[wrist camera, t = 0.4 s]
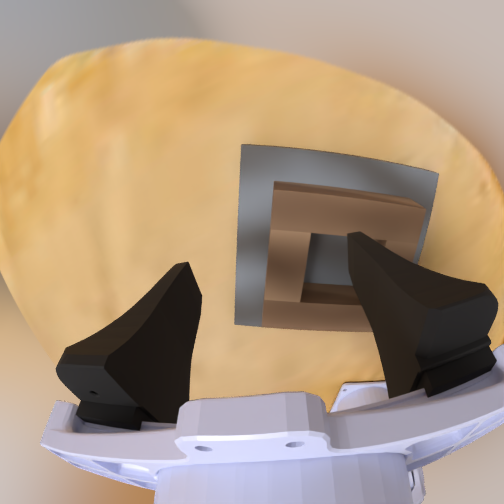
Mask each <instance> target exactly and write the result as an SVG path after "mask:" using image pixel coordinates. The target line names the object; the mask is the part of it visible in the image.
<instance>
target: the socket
mask: <svg viewBox="0 0 504 504" xmlns="http://www.w3.org/2000/svg"><path fill="white" fill-rule="evenodd" d="M438 176H439V174H438V173H436V172H433V171H429V170H425V169H421V168H417V167H412V166H408V165H403V164H398V163H393V162H388V161H383V160H378V159H372V158H366V157H360V156H354V155H348V154H341V153H334V152H326V151H318V150H310V149H300V148H290V147H279V146H266V145H251V144H242V145H241V162H240V183H239V206H238V230H237V257H236V288H235V322H234V324H235V325H245V326H257V327H267V328H280V329H296V330H316V331H344V332H373V331H372V328H371V326H370V323H369V321H368V319H367V317H366V314H365V312H364V310H363V308H362V305H361V303H360V301H359V299H358V297H357V295H356V292H355V290H354V287H353V284H352V281H351V278H350V275H349V271H348V243H347V233H353V232H358V231H361V232H362V233H364V234H366V235H367V236H369V237H370V238H372V239H373V240H375V241H376V242H378V243H379V244H381V245H383V246H384V247H386V248H387V249H389V250H391V251H392V252H394V253H396V254H397V255H399V256H401V257H403V258H405V259H406V260H408V261H410V262H412V263H415V264H418V261H419V257H420V254H421V250H422V247H423V243H424V240H425V236H426V232H427V228H428V224H429V220H430V216H431V211H432V207H433V202H434V197H435V192H436V187H437V182H438Z"/></svg>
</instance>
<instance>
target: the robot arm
mask: <svg viewBox="0 0 504 504" xmlns="http://www.w3.org/2000/svg"><path fill="white" fill-rule="evenodd" d="M347 243H348V271H349V275H350V278H351V281H352V284H353V287H354V290H355V292H356V295H357V297H358V299H359V301H360V303H361V305H362V308H363V310H364V312H365V314H366V317H367V319H368V321H369V323H370V326H371V328H372V331H373V333H374V337H375V340H376V344H377V347H378V351H379V355H380V359H381V363H382V367H383V371H384V376H385V381H382V382H364V383H345V384H343V385H342V387H341V389H340V391H339V393H338V396H337V398H336V400H335V402H334V404H333V406H332V408H331V411H330V413H327V412H326V406H325V403H324V402H323V400H322V399H321V398H320V397H319V396H317V395H314V394H310V393H307V392H303V391H300V392H279V393H271V394H261V395H251V396H239V397H223V398H202V399H196V400H190V401H189V389H190V370H191V359H192V353H193V348H194V343H195V339H196V334H197V330H198V325H199V320H200V315H201V305H202V294H201V292H200V289H199V287H198V285H197V282H196V280H195V277H194V275H193V272H192V270H191V267H190V264H189V262H184V263H178V264H176V265H174V266H173V267H172V268H171V269H170V270H169V271H168V272H167V273H166V274H165V275H164V276H163V277H162V278H161V279H160V280H159V281H158V282H157V283H156V284H155V286H154V287H153V288H152V289H151V290H150V291H149V292H148V293H147V294H146V295H144V296H143V297H142V298H141V299H140V300H139V301H138V302H137V303H136V304H135V305H134V306H133V307H132V308H130V309H129V310H128V311H127V312H126V313H124V314H123V315H122V316H121V317H119V318H118V319H116V320H115V321H113V322H112V323H111V324H109V325H108V326H106V327H105V328H103V329H102V330H100V331H98V332H97V333H95V334H93V335H91V336H90V337H88V338H86V339H84V340H82V341H80V342H78V343H75V344H73V345H71V346H69V347H66V349H65V351H64V353H63V355H62V357H61V359H60V361H59V363H58V365H57V367H56V372H57V375H58V377H59V379H60V380H61V381H62V383H63V384H64V385H65V386H66V387H67V388H68V389H69V390H70V391H72V393H73V394H74V395H76V396H77V397H78V398H79V399H80V400H81V402H80V404H79V406H78V405H76V404H73V403H70V402H65V401H60V400H57V401H56V402H55V404H54V407H53V409H52V412H51V415H50V417H49V420H48V422H47V425H46V428H45V430H44V433H43V436H42V439H41V442H40V444H41V445H42V446H43V447H45V448H46V449H48V450H49V451H51V452H52V453H54V454H55V455H57V456H58V457H60V458H62V459H63V460H65V461H67V462H68V463H70V464H72V465H74V466H75V467H77V468H81V469H83V470H86V471H89V472H92V473H95V474H98V475H102V476H105V477H107V478H111V479H114V480H117V481H121V482H124V483H128V484H131V485H135V486H139V487H143V488H147V489H151V490H156V491H155V498H154V504H421V503H422V502H423V500H424V496H425V494H426V493H425V486H424V475H423V470H422V467H423V466H425V465H427V464H430V463H432V462H434V461H436V460H438V459H440V458H442V457H445V456H447V455H449V454H451V453H452V452H454V451H456V450H458V449H460V448H462V447H464V446H466V445H468V444H470V443H471V442H473V441H475V440H477V439H478V438H480V437H482V436H483V435H485V434H487V433H488V432H490V431H492V430H493V429H495V428H496V427H498V426H500V425H502V424H503V423H504V344H502V345H500V346H499V347H497V348H496V349H495V350H494V351H493V352H492V351H491V349H490V347H489V345H490V344H491V340H490V338H489V337H488V332H489V330H490V328H491V326H492V324H493V322H494V320H495V317H496V314H497V311H498V301H497V299H496V297H495V296H494V295H493V293H492V292H491V291H490V290H489V288H488V287H487V286H486V285H485V284H483V283H477V282H471V281H465V280H461V279H457V278H453V277H449V276H446V275H443V274H440V273H437V272H434V271H431V270H429V269H426V268H424V267H421V266H419V265H417V264H415V263H412V262H410V261H408V260H406V259H405V258H403V257H401V256H399V255H397V254H396V253H394V252H392V251H391V250H389V249H387V248H386V247H384V246H383V245H381V244H379V243H378V242H376V241H375V240H373V239H372V238H370V237H369V236H367V235H366V234H364V233H362V232H361V231H358V232H353V233H347Z"/></svg>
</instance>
